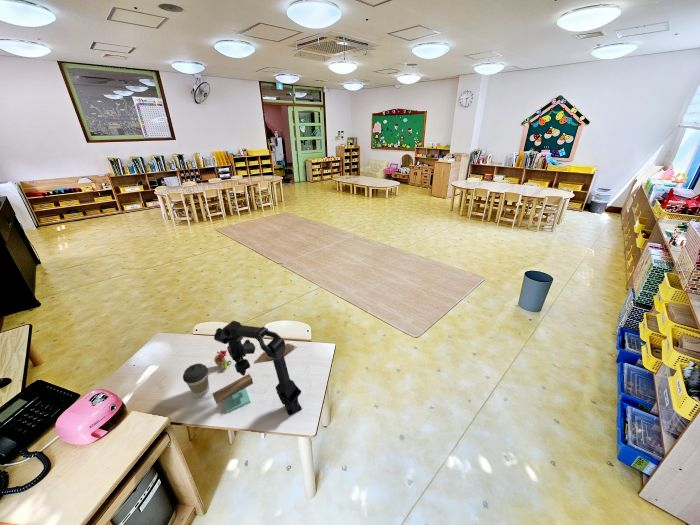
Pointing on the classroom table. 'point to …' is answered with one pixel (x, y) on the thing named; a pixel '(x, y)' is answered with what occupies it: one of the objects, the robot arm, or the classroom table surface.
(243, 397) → the fulcrum block
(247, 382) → the walnut bar
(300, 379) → the classroom table surface
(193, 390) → the coffee cup
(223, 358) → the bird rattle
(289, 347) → the wooden fragment
